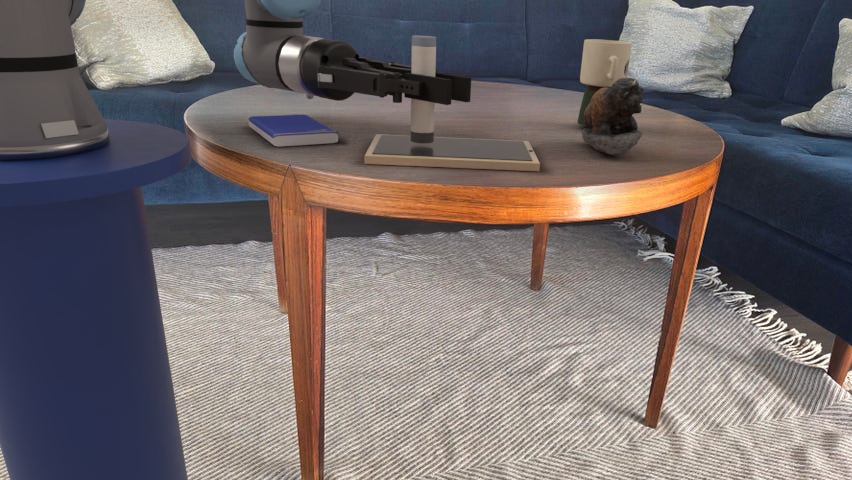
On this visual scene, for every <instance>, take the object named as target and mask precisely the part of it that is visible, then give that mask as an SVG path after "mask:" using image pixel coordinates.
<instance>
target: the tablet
mask: <svg viewBox="0 0 852 480" xmlns="http://www.w3.org/2000/svg"><path fill="white" fill-rule="evenodd" d="M364 165H379V166H380V165H381V166H399V167H400V166H402V167H404V166H405V167H424V168H425V167H426V168H449V169H468V170H469V169H473V170H493V171H494V170H496V171H517V172H540V169H541V162H540V161H539V159H538V157H537V155H536V153H535V151H534V149H533V147H532V145H531V143H530V141H529V140H513V139H493V138H492V139H491V138H471V137H469V138H468V137H451V136H450V137H446V136H434V141H433V142H432V143H415V142H412V141H411V135H407V134H405V135H404V134H382V133H381V134H380V133H376V134H375V135H374V138H373V139H372V141H371V143H370V145H369V146H368V148H367V150H366V152H365V154H364Z"/></svg>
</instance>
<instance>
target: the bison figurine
mask: <svg viewBox="0 0 852 480" xmlns="http://www.w3.org/2000/svg"><path fill="white" fill-rule="evenodd" d="M643 92H644V87H642V86H640V83H639V81H638V80H637V79H635V78H632V77H627V78H620V79H618V80H617V81H616V82H614V83H613V84H612V86H611V88H607V87H604V88H601V89H600V90H598V91H597V92H596V93H595V94H594V95H593V96H592V99H591V101H590V103H589V105H588V107H587V108H586V109H585V112H584V124H585V125H584V126H585V127H584V128H583V129H581V136H582V137H581V138H582V139H583V141H584V143H586V144H587V145H589V146H590V147H592V148H593V149H594V150H595V151H597V152H600V153H603V154H606V155H609V156H619V155H623V154H625V153H627V152H628V151H630V150H631V149H632V148H633V147H634V146H636V145H638V143H639V141H640V139H641V138H642V136H643V132H642V131H641V130H638V127H639V125H638V122H637V120H636V118H635V117H634V116H633V115H635V114H641V113H642V105H641V103H642V102H643V101H644V97H643Z"/></svg>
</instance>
